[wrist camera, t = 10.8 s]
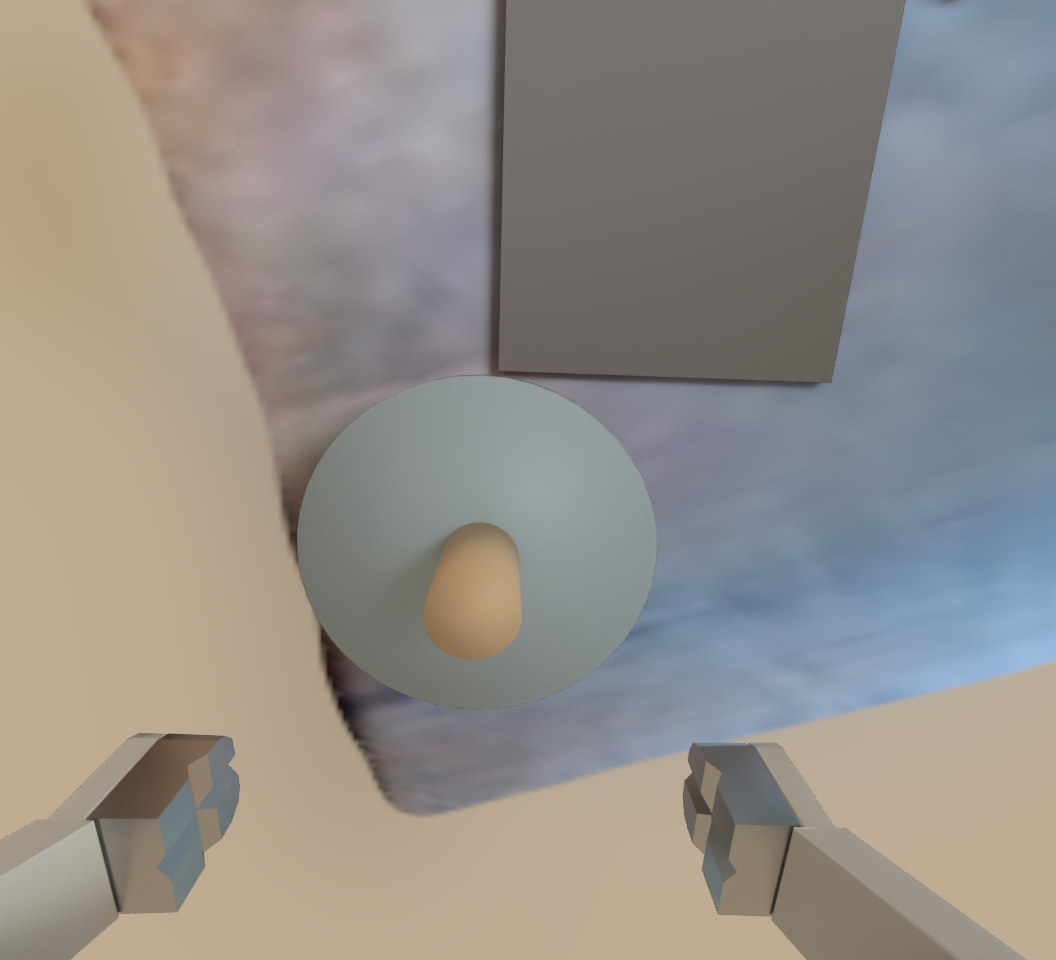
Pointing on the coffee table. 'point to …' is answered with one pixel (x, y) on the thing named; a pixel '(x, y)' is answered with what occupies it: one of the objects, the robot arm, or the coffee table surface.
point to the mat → (687, 182)
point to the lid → (477, 542)
